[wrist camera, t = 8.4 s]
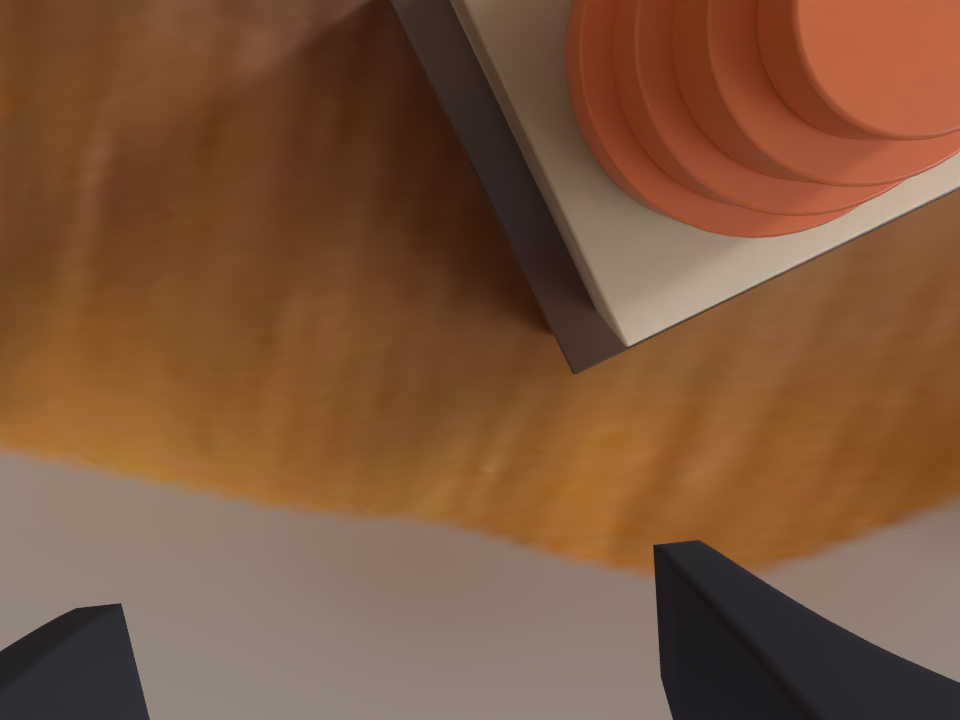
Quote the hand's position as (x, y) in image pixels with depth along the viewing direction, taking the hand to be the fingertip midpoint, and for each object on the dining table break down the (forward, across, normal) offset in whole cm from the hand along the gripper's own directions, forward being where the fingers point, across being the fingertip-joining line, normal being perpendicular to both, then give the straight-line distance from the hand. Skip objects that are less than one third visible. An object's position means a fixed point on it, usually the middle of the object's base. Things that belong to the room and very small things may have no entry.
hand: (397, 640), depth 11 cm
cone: (+4, -6, -7) cm, 10 cm away
